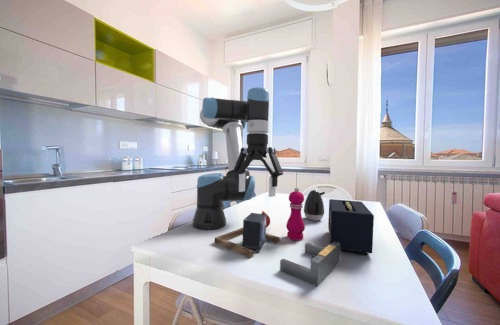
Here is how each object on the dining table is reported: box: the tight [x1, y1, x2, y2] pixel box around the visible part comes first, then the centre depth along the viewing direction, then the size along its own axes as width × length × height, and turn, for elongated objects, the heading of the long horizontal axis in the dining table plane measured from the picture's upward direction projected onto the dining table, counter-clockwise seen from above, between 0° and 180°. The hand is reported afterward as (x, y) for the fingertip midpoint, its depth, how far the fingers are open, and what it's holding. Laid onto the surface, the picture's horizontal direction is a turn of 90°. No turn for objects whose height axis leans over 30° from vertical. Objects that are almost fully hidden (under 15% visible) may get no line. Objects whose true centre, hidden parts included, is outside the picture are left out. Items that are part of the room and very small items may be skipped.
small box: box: [241, 212, 267, 253], centre depth 78 cm, size 11×6×10 cm, turn 164°
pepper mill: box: [285, 187, 306, 241], centre depth 87 cm, size 7×7×20 cm
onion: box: [260, 210, 271, 229], centre depth 96 cm, size 6×6×8 cm
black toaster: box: [327, 198, 375, 255], centre depth 83 cm, size 22×13×15 cm, turn 162°
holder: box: [214, 227, 280, 259], centre depth 81 cm, size 17×17×2 cm
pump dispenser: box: [303, 189, 326, 222], centre depth 112 cm, size 10×10×15 cm
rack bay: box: [279, 241, 341, 287], centre depth 64 cm, size 11×17×6 cm, turn 140°
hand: (256, 193), depth 78 cm, fingers open, 13 cm apart
